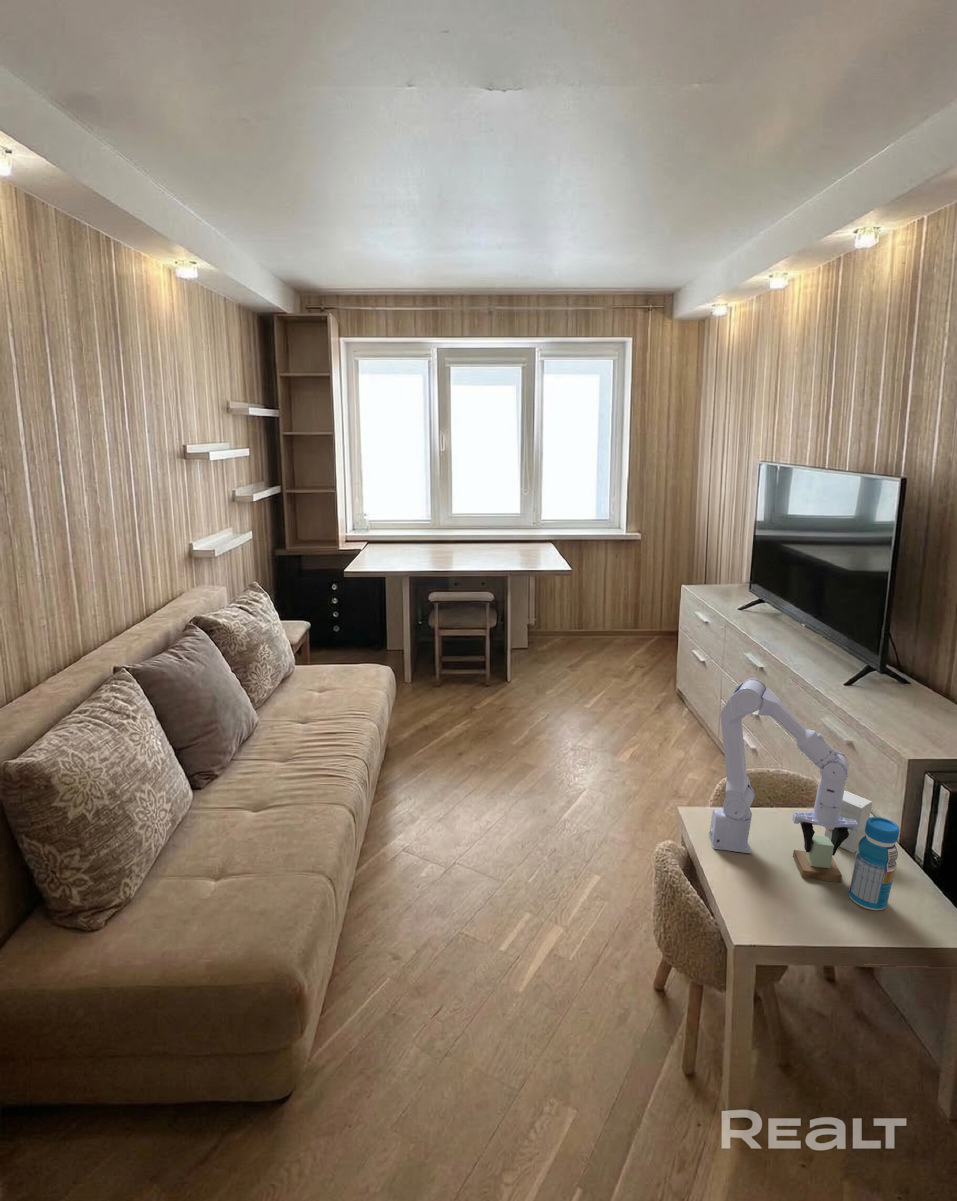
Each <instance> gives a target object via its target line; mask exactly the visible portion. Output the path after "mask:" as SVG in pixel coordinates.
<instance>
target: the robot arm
mask: <svg viewBox="0 0 957 1201" xmlns="http://www.w3.org/2000/svg"><path fill="white" fill-rule="evenodd" d="M757 711H758V713H757V716H768V717H772V718H773V719H774V720H775V721H776V722H777V723H778V724H779V725H780V726H781V727H782V728H784V729H785V730H786V731H787V732H788V733H789V734H790V735H791V736H792V737H793V738H795V740H796V742H795V744H796V747H797V749H799V750H800V751H801V752H802V754H804V755H805V756H806V758H808V759H809V761H811V762H812V764H814V765H815V767H817V768H818V769H819V770H820V771H819V774H820V776H821V777H820V780H818V785H817V791H816V796H815V802H814V806H813V812H812V811H811V812H793V815H792V822H793V823H794V824H795V825H799V824H800V827H801V831H802V834H803V842H804V845H803V846H804V851H806V852H810V848H811V841H812V838H813V835H815V833H816V832H815V830H814V826H819V827H824V829H825V830H826V829H832V837H831V842H832V844H833V845H834V849H833V855H832V857H834V856H835V854H836V852H837V851H838V850H839V848H840V845H841V843H842V842H843V841H844V840H845V839H847V838H848V836H849V832H848V829H851V830H852V831H857V827H858V823H857V822H856V820H851V819H847V818H843V817H839V815H840V810H841V805H842V800H843V795H844V790H845V786H846V781H847V779H848V776H849V775H848V772H849V767H850V764H849V763H850V762H849V760H848V758H847V757H846V755H845V754H844V753H842V752H840V751H839V750H837V749H834V748H833V747H832V746H831V745H830V744H829V742H827V741H826V740H825V736H824V735H823V733H821V732H819V733H818V732H817V731H816V730H814V729H808V728H806V727H805V726H804V724H802V723H801V722H800V721H799V720H798V719H797V718H796V716H795V715H794V714H793V713H792V712H791V711H790V710H789V709H788V707H786V705H785V704H784V703H783V702H782V701H781V700H780V698H778V696H777V695H776V693H775V692H774V691H773V690H772V689H770V688H769V687H766V685H765V683H764V682H763V681H761V680H760V679H757V678H748V679H746V680H744V681H743V682H741V683H740V684H739V685H738V686H736V688H735V690H734V691H733V693H732V694H731V695H730V697H729V698H728V701H727V702H726V703H725V705H724V706H723V708H722V710H720V715H719V716H720V725H721V726H720V727H721V734H722V742H723V743H722V745H723V753H724V754H723V755H724V763H725V772H726V785H725V799H724V801H722V808H719V809H717V808H716V809H713V810H712V813H711V819H710V827H709V831H708V835H709V838H710V843H711V847H712V848H713V849H714V850H721V851H727V852H728V851H729V852H737V853H743V854H744V853H745V854H751V853H752V850H751V847H750V845H749V837H750V836H749V835H750V829H751V823H752V816H753V813H752V811H751V806H752V804H753V802H754V801H755V796H756V794H755V790H754V789H753V787H752V786H751V781H750V777H749V776H748V772H747V763H746V762H747V761H746V752H745V741H744V740H745V739H744V732H743V731H744V730H743V721H742V719H743V718H744V717H745V716H748V715H751V714H754V713H755V712H757ZM813 825H814V826H813Z"/></svg>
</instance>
